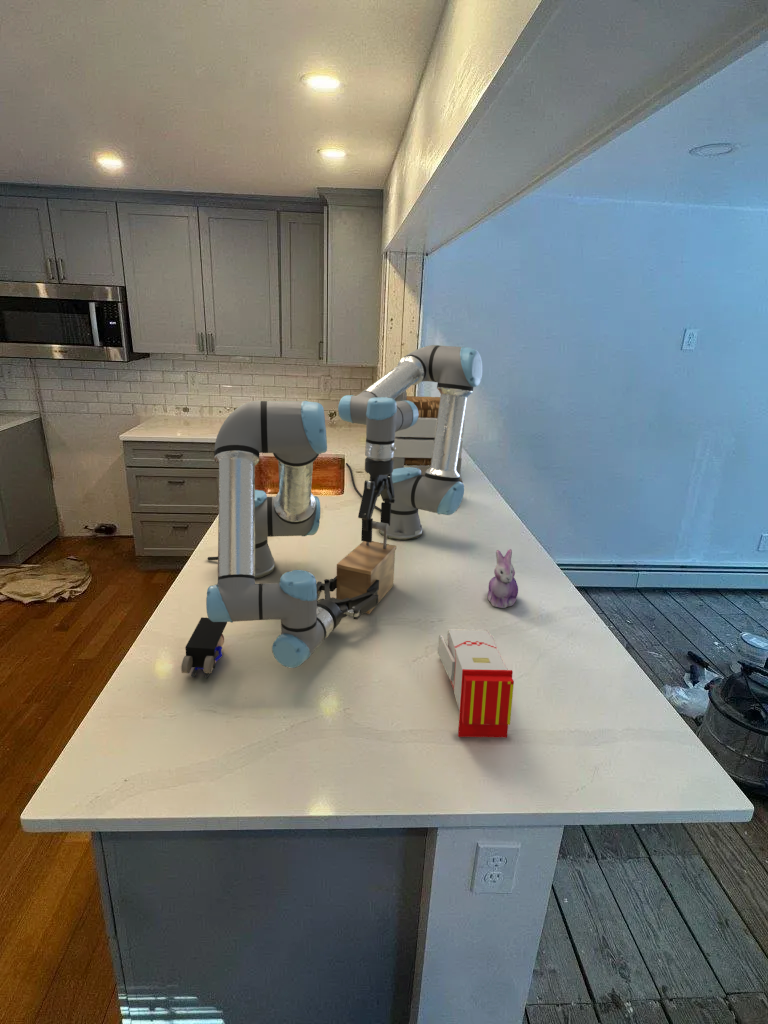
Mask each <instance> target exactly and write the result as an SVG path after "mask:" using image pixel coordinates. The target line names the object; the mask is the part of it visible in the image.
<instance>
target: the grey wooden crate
mask: <svg viewBox="0 0 768 1024" xmlns="http://www.w3.org/2000/svg"><path fill="white" fill-rule="evenodd" d="M407 394H408V393H407V390H405V391H404V392H403V393H402V394H400V395H399V396H398V397H397V398H395V399H394V400H395V401H398V402H399V401H401V400H404V401H406V400H407V401H411V402H413V403H414V404H415V405H416V407H417V409H418V413H419V416H418V420H417V422H416V423H415V424H414V425H413V426H411V427H409V428H408V429H407V428H406V429H403V430H399V431H396V432H395V442H394V447H395V448H396V450H395V451H394V457H393V458H392V459H393V460H394V463H393V469H397V468H405V466H406V467H409V466H411V467H417V466H418V467H430V466H431V460H432V453H433V446H434V439H435V432H436V425H437V417H438V410H439V403H440V396H415V395H414V396H413V395H412V396H411V395H407ZM464 429H465V419H464V422H463V428H462V435H461V442H460V448H459V455H458V462H457V468H456V471H457V472H458V474H459V475H460V476H461V472H462V461H463V460H462V453H463V442H464V441H463V440H462V439H463V438H464V431H465V430H464Z"/></svg>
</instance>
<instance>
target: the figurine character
mask: <svg viewBox="0 0 768 1024" xmlns="http://www.w3.org/2000/svg"><path fill="white" fill-rule="evenodd" d="M227 624H228V622H212V621H211V620H210V619H209V618H208V617H203V616H202V617H200V619H199V621H198V623H197V625H196V626H195V628H194V630H193V632H192V634H191V636H190V638H189V639H188V642H187V643H186V645H185V647H184V648H185V655H184V656H183V658H182V662H181V666H180V667H181V668H180V670H181V673H182V674H190V673H191V678H195V677H196V675H197V672H198V670H203V673H204V674H205V675H204V677H205V679H207V678H208V677H209V675H210V674H212V673H213V670H215V669H216V663H217V662H218V661H219V660H220V659H221V658H223V652H222V650H223V645H224V644H225V635H224V634H223V633H224V630H225V628H226V626H227ZM216 652H218V655H216ZM192 668H193V670H192ZM191 670H192V672H191Z"/></svg>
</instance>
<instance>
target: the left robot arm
mask: <svg viewBox="0 0 768 1024" xmlns="http://www.w3.org/2000/svg"><path fill="white" fill-rule="evenodd" d="M327 437H328V436H327V425H326V417H325V408H324V406H323V405H322V404H321V403H320V402H318V401H317V402H316V401H308V400H251V401H247V402H245V403H242V404H241V405H239V406H238V407H236V408H235V409H234V410H233V411H232V412H231V413H229V414H228V416H227V417H226V418H225V420H224V422H223V423H222V424H221V427H220V428H219V431H218V433H217V435H216V439H215V442H214V448H213V449H214V452H213V453H214V457H213V459H214V462H215V463H216V464H217V465H218V521H217V523H218V524H217V525H218V528H217V530H218V531H217V534H218V535H217V536H218V537H217V556H208V557H207V560H208V561H217V583H216V584H214V585H209V586H208V587H207V590H206V599H205V602H206V605H205V607H206V616H207V618H209V619H210V620H211V621H212V622H227V623H234V622H253V621H275V620H280V634H279V635H278V636H277V637H276V638H275V640H274V641H273V643H272V646H271V651H272V654H273V657H274V659H275V660H276V661H277V662H278V663H279V664H280V665H281V666H283V667H285V668H289V669H294V668H298V667H300V666H301V665H302V664H303V663H304V662H306V661H307V660H308V659H310V657H311V655H313V653H314V652H315V651H317V649H318V648H319V646H321V644H322V643H323V642H324V641H325V640H326V639H327V638H328V636H329V635H330V634H332V632H334V630H335V629H336V628H338V626H339V625H340V623H341V622H342V620H343V619H344V618H346V617H348V616H349V617H350V616H351V617H352V619H353V620H354V621H357V620H359V618H360V616H362V615H364V614H366V613H365V612H367V611H369V610H370V609H372V608H373V607H375V606H376V607H377V606H378V605H379V603H378V596H379V595H377V592H378V590H379V580H376V581H375V582H374V583H373V584H372V585H371V586H370V587H369V588H368V589H367V593H364V594H362V595H359V596H356V597H353V598H350V599H349V598H345V599H342V600H341V599H336V597H333V596H332V597H331V592H332V593H333V592H335V590H336V585H337V575H335V577H333V578H330V579H327V578H326V579H324V581H323V582H324V583H322V581H317V579H316V577H315V575H314V574H313V573H311V572H309V571H308V570H304V569H293V570H290V571H286V572H283V574H282V575H281V576H280V579H279V581H278V582H265V583H263V582H262V583H261V582H260V583H256V579H261V578H263V577H266V576H268V575H270V574H272V573H273V572H274V570H275V568H276V567H275V559H274V557H273V554H272V551H271V548H270V546H269V543H268V540H269V539H268V538H270V537H307V536H314V535H316V534H317V533H318V530H319V529H320V519H321V501H320V497H318V496H316V495H314V494H313V493H312V483H313V472H314V471H313V469H314V462H315V461H316V460H317V459H318V457H319V455H322V454H325V453H326V452H328V438H327ZM260 454H273V456H274V458H275V459H276V460H277V463H278V492H277V494H276V495H275V496H268V494H267V493H266V491H264V490H259V489H256V482H255V481H256V475H255V472H256V471H255V470H256V465H258V464H259V462H260ZM322 591H323V592H324V593H323V594H324V598H320V596H321V593H322ZM319 598H320V599H319ZM376 607H375V608H376Z"/></svg>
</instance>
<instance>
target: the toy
mask: <svg viewBox="0 0 768 1024" xmlns="http://www.w3.org/2000/svg"><path fill="white" fill-rule="evenodd" d="M446 640H447V643H446V641H445V639H444V636H443V635H442V634H439V637H438V646H437V656H438V657H439V659H440V661H441V663H442V666H443V668H444V670H445V672H446V674H447V677H448V679H449V681H450V684H451V687H452V690H453V693H454V697H455V701H456V705H457V708H458V711H459V714H458V715H459V716H458V730H457V731H458V732H457V737H458V738H508V731H509V726H510V725H511V717H512V707H513V697H514V696H513V695H514V684H515V680H514V679H513V673H514V671H513V670H512V669H508V667H507V665H506V662H505V661H504V659H503V658H502V655H501V653H500V651H499V649H498V647H497V643H496V639H495V637H494V635H493V634H491V632H490V631H489V629H467V628H466V629H465V628H463V629H461V628H460V629H459V628H448V630H447V639H446Z"/></svg>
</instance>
